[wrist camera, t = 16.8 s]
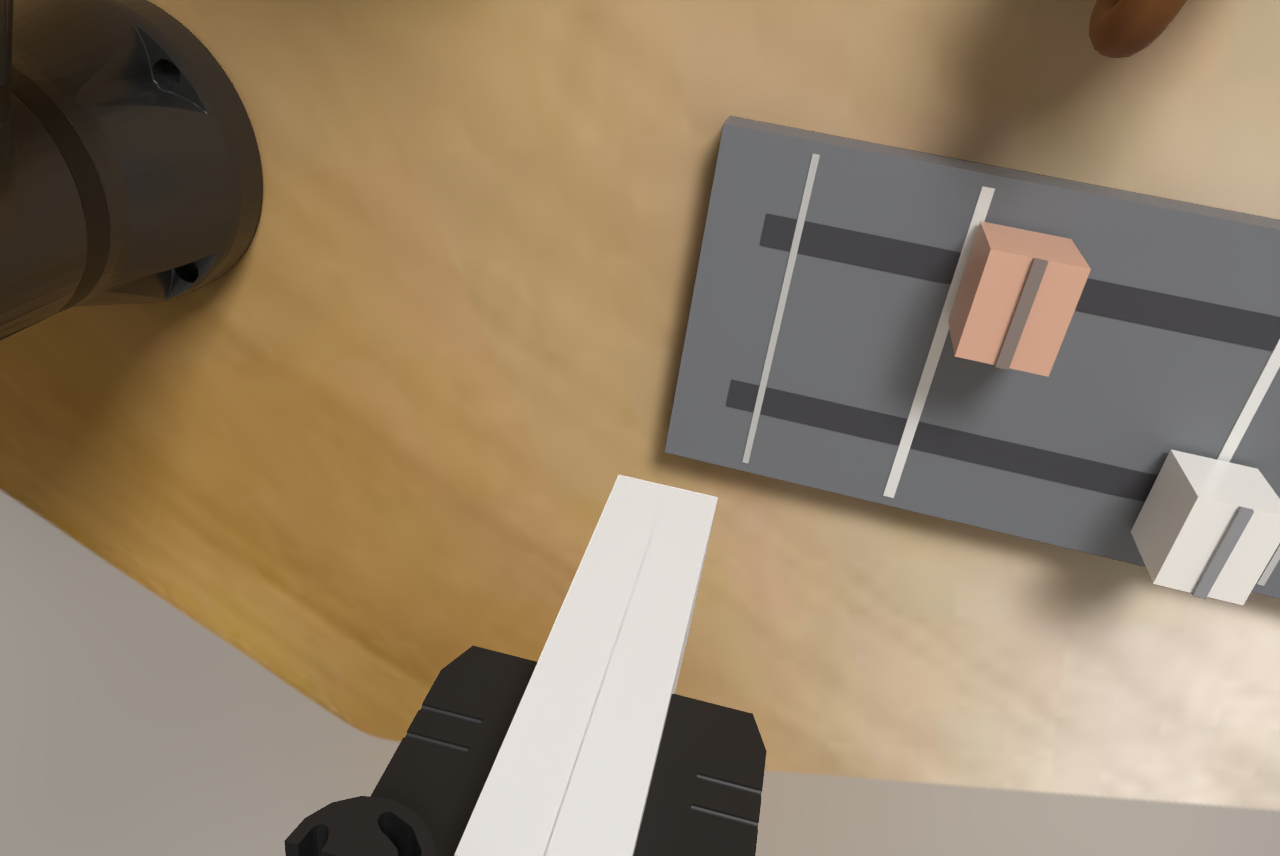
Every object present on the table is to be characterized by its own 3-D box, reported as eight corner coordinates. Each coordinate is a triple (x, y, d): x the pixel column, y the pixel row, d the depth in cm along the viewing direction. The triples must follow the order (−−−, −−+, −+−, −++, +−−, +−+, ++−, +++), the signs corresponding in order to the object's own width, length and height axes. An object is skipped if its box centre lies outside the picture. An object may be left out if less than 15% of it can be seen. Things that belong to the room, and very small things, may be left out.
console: (672, 433, 48) (664, 452, 46) (730, 115, 40) (723, 123, 39) (1328, 588, 44) (1347, 615, 42) (1533, 268, 36) (1567, 284, 35)
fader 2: (1130, 531, 43) (1154, 586, 39) (1170, 449, 40) (1199, 499, 37) (1213, 550, 42) (1244, 608, 39) (1257, 468, 40) (1296, 521, 36)
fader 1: (947, 320, 40) (955, 358, 36) (980, 220, 38) (991, 250, 34) (1033, 338, 40) (1049, 378, 36) (1071, 238, 37) (1092, 270, 34)
